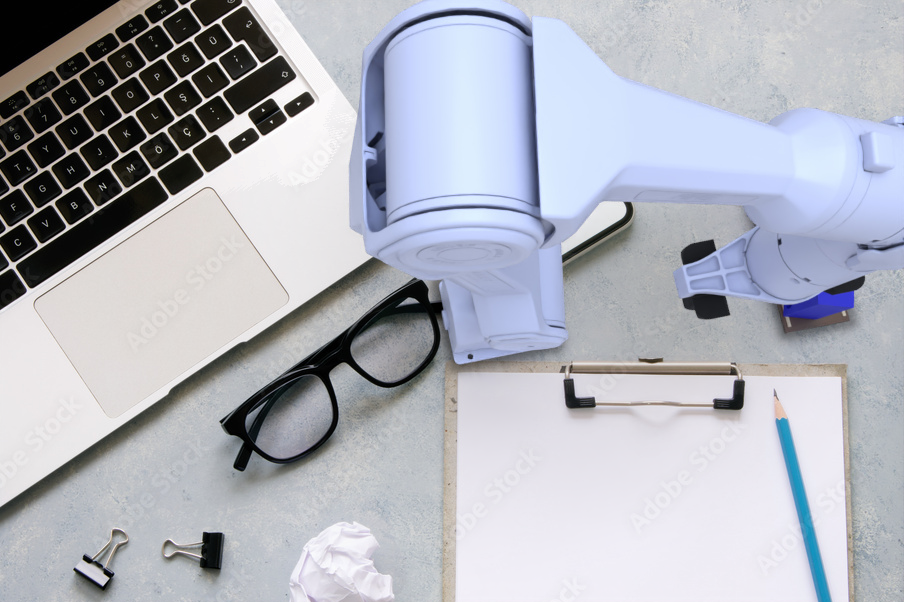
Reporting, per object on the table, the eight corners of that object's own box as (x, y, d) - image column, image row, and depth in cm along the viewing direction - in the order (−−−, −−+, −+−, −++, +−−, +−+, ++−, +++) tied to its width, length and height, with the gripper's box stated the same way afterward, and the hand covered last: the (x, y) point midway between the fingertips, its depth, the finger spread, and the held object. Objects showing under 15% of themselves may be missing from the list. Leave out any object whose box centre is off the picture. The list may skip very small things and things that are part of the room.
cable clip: (770, 190, 71) (803, 167, 65) (818, 194, 71) (855, 171, 65) (766, 314, 69) (800, 302, 63) (816, 319, 69) (853, 307, 63)
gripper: (916, 160, 48) (806, 222, 61) (694, 203, 48) (632, 257, 61) (949, 266, 47) (830, 306, 60) (722, 311, 47) (653, 341, 60)
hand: (732, 287), depth 61 cm, fingers open, 7 cm apart
